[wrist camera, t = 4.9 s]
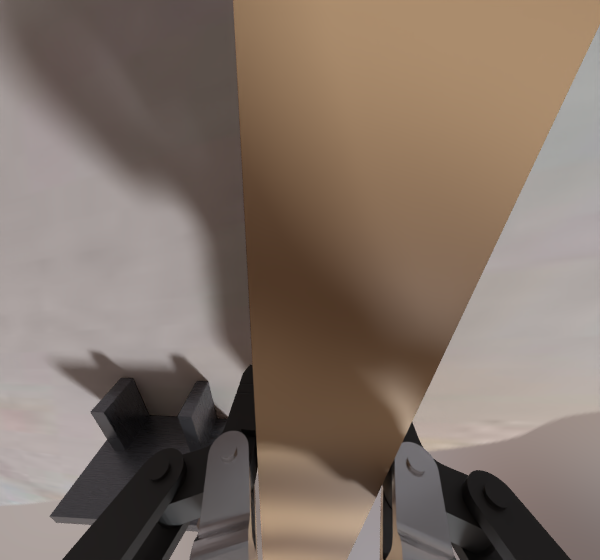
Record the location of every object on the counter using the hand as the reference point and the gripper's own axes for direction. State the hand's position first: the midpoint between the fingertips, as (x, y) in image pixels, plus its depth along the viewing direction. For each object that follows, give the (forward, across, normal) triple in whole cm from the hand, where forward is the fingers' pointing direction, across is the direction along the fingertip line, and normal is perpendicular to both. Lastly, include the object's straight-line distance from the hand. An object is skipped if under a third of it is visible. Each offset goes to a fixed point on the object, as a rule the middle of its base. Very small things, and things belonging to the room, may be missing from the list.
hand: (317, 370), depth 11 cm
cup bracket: (+4, +12, +10) cm, 16 cm away
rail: (+1, 0, 0) cm, 1 cm away
